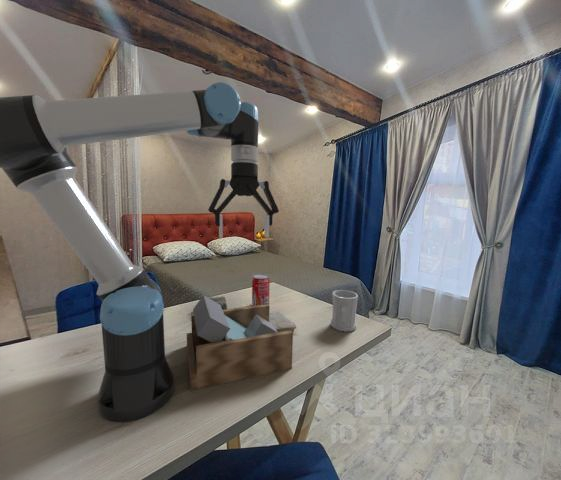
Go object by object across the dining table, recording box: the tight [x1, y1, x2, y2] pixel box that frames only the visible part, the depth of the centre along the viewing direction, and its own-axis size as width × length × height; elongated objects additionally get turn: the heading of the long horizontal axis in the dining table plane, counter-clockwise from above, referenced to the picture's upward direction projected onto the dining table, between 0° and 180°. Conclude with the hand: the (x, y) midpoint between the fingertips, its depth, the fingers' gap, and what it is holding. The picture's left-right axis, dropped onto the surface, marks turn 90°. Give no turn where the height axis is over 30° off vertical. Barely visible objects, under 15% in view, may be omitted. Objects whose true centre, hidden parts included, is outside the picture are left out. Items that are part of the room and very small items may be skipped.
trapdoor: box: [192, 294, 247, 343], centre depth 76 cm, size 23×17×5 cm
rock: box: [208, 295, 228, 310], centre depth 107 cm, size 13×9×6 cm, turn 54°
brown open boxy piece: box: [186, 304, 294, 391], centre depth 76 cm, size 26×20×10 cm
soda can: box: [251, 273, 270, 306], centre depth 113 cm, size 7×7×13 cm
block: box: [244, 315, 277, 337], centre depth 79 cm, size 6×6×6 cm
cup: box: [330, 289, 359, 333], centre depth 95 cm, size 10×9×12 cm
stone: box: [269, 311, 297, 333], centre depth 96 cm, size 15×11×3 cm
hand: (244, 237), depth 81 cm, fingers open, 13 cm apart
